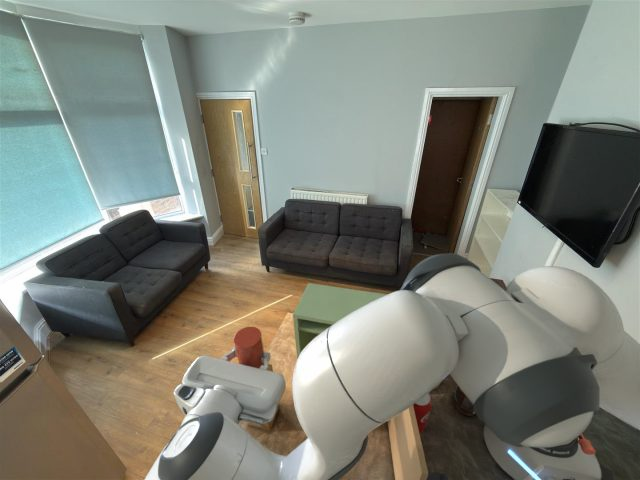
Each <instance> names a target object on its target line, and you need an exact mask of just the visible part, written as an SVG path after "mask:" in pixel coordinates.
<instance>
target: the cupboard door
mask: <svg viewBox="0 0 640 480" xmlns="http://www.w3.org/2000/svg"><path fill="white" fill-rule="evenodd" d="M387 428H388V437H389V442H390V443H389V444H390V450H391V457H392V465H393V472H394V480H450V478H449V477H448V475H447V474H446V473H443V472H435V471H429V470H428V466H427V462H426V457H425V452H424V448H423V443H422V439H421V433H419V429H418V425H417V420H416V416H415V411H414V407H413V405H412V406H411V407H409V408H408V409H406V410H405V411H403V412H402V413H400V414H399V415H397V416H395V417H393V418H392V419H390V420H388V421H387Z"/></svg>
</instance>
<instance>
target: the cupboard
mask: <svg viewBox="0 0 640 480" xmlns="http://www.w3.org/2000/svg"><path fill="white" fill-rule="evenodd" d="M388 294H389V293H388ZM388 294H387V293H382V292H381V293H380V292H374V291H368V290H367V291H366V290H359V289H355V288H354V289H353V288H346V287H339V286H333V285H332V286H331V285H326V284H319V283H312V282H308V283H307V285H306V287H305V289H304V290H303V292H302V295H301V297H300V299H299V301H298V303H297V305H296V307H295V309H294V311H293V313H292V320H293V330H294V340H295V350H296V360H297V359H298V357H299V355H300V353H301V352H302V350H303V349H304V348H305V347H306V346H307V345H308V344H309V343H310V342H311V341H312V340H313V339H314V338H315V337H316V336H318V335H319V334H320V333H322V332H323V331H325V330H326V329H327V328H329V327H330V326H332V325H333V324H335V323H336V322H338V321H339V320H341V319H342V318H344V317H345V316H347V315H348V314H350V313H352V312H353V311H355V310H357V309H359V308H361V307H362V306H364V305H366V304H368V303H370V302H372V301H374V300H376V299H378V298H381V297H383V296H385V295H388Z"/></svg>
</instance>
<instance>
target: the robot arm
mask: <svg viewBox="0 0 640 480" xmlns="http://www.w3.org/2000/svg"><path fill="white" fill-rule="evenodd" d="M271 357H272V356H271V353H270V352H267V351H264V352H263V355H262V356H261V362H262V363H264V365H262V366H261V367H260V369H259V368H255V367H250V366H246V365H242V364H239V362H238V363H237V362H233V361H232V360H234V359H235V358H238V357H237V353H236V349H235V345H234V346H233V348H232V349H231V350H230V351H228V352H226V353H224V354H223V355H222V356H221V357H220V358H217V357H212V356H207V355H201V356H198V357H197V358H195V360H194V361H193V362H192V364H191V365H190V366H189V367H188V369H187V370H186V372H185V373H184V375H183V377H182V380H181V384H178V385H177V386H176V388H175V389H174V390H173V396H174V400H175V402H176V404H177V405H178V408H179V410H180V411H181V412H182V414H183V415H184V418H183V420H181V421H182V422H181V423H180V426H179V427H178V429H177V430H176V431H175V432H174V433H173V436H172V437H171V438H170V440H169V442H167V444H166V445H165V446H164V448H163V449H162V450H161V452H160V453H159V455H158V456H157V458H156V459H155V461H154V463H153V464H152V466H151V468H150V469H149V471H148V473H147V474H146V476H145V478H144V479H143V480H341V479H342V478H343V477H344V476H346V475H347V474H348V473H349V472H350V471H351V470H352V469H353V468H354V467H355V466H356V465H357V464H358V463H359V462H360V460H361V459H362V457H363V455H364V454H365V451H366V449H367V446H368V442H369V434H371V433H372V432H373V431H374V430H376V429H377V428H378V427H379V426H382V425H383V424H385V423H388V420H390V419H392V418H393V417H395V416H397V415H399V414H400V413H402V412H403V411H405V410H406V409H408V408H409V407H411V406H412V405H413V404H415V403H416V402H417V401H419V400H420V399H421V398H423V397H424V396H425V395H427V394H428V393H429V394H430V393H431V392H432V391H433V390H435V389H436V388H435V387H436V386H437V385H438V384H439V383H440V382H441V383H442V382H443V381H444V380H445V379H446V378H447V377H448V376H449V375H450V377H451V378H452V380H453V381H454V382H455V383H456V384H457V385H458V386H459V387H460V388H461V390H462V391H463V392H464V394H465V395H466V396H467V397H468V399H469V400H470V401H471V402H472V404H473V410H474V412H475V413H476V414H475V415H477V417H478V418H479V419H480V420H481V422H482V423H483V424H484V427H483V439H484V442H485V445H486V447H487V450H488V452H489V453H490V456H491V457H492V458H493V460H494V461H495V463H497V465H498V466H499V467H500V468H501V469H502V470H503V471H504V472H505V473H506V474H507V475H508V476H510V477H511V478H512V479H513V480H614V476H613V470H611V469H609V468H608V467H606V466H604V465H602V464H600V463H599V460H598V458H597V456H596V453H597V451H596V450H595V448H594V447H593V445H592V442H591V440H590V439H587V438H586V437H585V436H584V434H583V433H584V432H585V430H586V429H587V428H588V426H589V425H590V424H591V422H592V419H593V417H594V416H596V415H597V414H598V413H600V412H599V411H600V408H601V409H602V410H604V411H605V412H606V413H609V414H610V415H611V416H614V417H616V418H617V419H618V420H620V421H622V422H624V423H625V424H628V425H629V426H630V427H633V428H634V429H636V430H638V431H640V343H639V342H638V340H636V339H635V338H634V337H632V336H631V335H630V334H629V333H628V332H627V331H625V328H624V323H623V320H622V316H621V314H620V312H619V310H618V307H617V306H616V304H615V303H614V301H613V300H612V299H611V297H610V296H609V294H607V293H606V292H605V290H603V288H601V286H599V285H598V284H597V283H596V282H595V281H593V280H592V279H590V278H589V277H588V276H586V275H584V274H582V273H581V272H578V271H576V270H574V269H570V268H567V267H563V266H562V267H561V266H553V265H544V266H537V267H532V268H529V269H526V270H525V271H522V272H520V273H518V274H517V275H516V276H515V277H514V278H512V279H511V281H510V282H509V284H508V285H507V287H506V289H504V288H502V287H501V286H500V285H499V284H498V283H496V282H495V281H494V280H492V279H491V277H489V276H487V275H486V274H484V273H483V272H482V270H481V268H480V267H479V265H477V264H476V263H474V262H472V260H469V259H468V258H466V257H464V256H462V255H460V254H458V253H455V252H446V253H437V254H433V255H431V256H428V257H425V258H424V259H423V260H420V262H418V263H417V264H416V265H414V267H413V268H412V269H411V270H410V271H409V272H408V274H407V276H406V278H405V279H404V281H403V283H402V286H401V287H400V289H399V290H395V291H393V292H391V293H388V295H385V296H383V297H381V298H378V299H376V300H374V301H372V302H370V303H368V304H366V305H364V306H362V307H361V308H359V309H357V310H355V311H353V312H352V313H350V314H348V315H347V316H345V317H344V318H342V319H341V320H339V321H338V322H336V323H335V324H333V325H332V326H330V327H329V328H327V329H326V330H325V331H323V332H322V333H320V334H319V335H318V336H316V337H315V338H314V339H313V340H312V341H311V342H310V343H309V344H308V345H307V346H306V347H305V348H304V349H303V350H302V352H301V353H300V355H299V357H298V359H297V358H296V362H295V364H294V368H293V373H292V382H291V384H292V385H291V389H292V393H291V394H292V401H293V406H294V407H293V408H294V411H295V414H296V417H297V420H298V422H299V425H300V427H301V429H302V430H303V433H304V434H305V436H306V437H307V438H306V439H304V440H303V441H302V443H300V444H299V445H297V447H295V449H293V450H292V451H291V452H290V453H288V454H287V455H283V454H278V453H276V452H274V451H273V450H270V449H269V448H268V447H266V446H265V445H264V444H262V442H260V441H258V439H256V438H255V437H254V436H252V435H251V434H250V433H248V431H247V430H245V428H243V427H242V426H241V425H240V422H244V423H245V422H246V423H248V422H249V423H254V424H255V425H258V426H262V425H263V424H267V423H269V422H271V421H272V420H273V418H274V416H275V413H276V410H277V405H278V404H279V403H280V401H281V400H282V397H283V395H284V393H285V391H286V386H287V385H286V378H285V376H284V374H283V373H279V372H275V371H273V372H272V371H269V369H268V364H269V363H270V360H271ZM441 383H440V384H441ZM434 388H435V389H434ZM264 420H265V421H264ZM249 423H248V424H249Z"/></svg>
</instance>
